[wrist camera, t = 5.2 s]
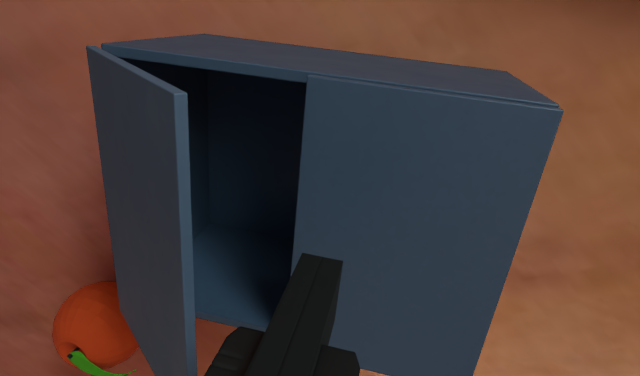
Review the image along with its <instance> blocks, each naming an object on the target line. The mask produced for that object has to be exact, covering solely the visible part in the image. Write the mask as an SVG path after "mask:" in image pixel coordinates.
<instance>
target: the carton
mask: <svg viewBox="0 0 640 376" xmlns="http://www.w3.org/2000/svg"><path fill="white" fill-rule="evenodd" d="M101 47H102V50H104V51H106V52H108V53H110V54H112V55H114V56H116V57H118V58H120V59H122V60H124V61H126V62H128V63H130V64H132V65H134V66H136V67H137V68H139V69H141V70H143V71H145V72H147V73H149V74H151V75H153V76H155V77H157V78H159V79H161V80H163V81H165V82H167V83H169V84H171V85H172V86H174V87H176V88H178V89H180V90H182V91H184V92H186V93H187V94H188V123H189V152H190V181H191V210H192V240H193V269H194V298H195V317H196V318H200V319H205V320H209V321H213V322H217V323H221V324H226V325H230V326H234V327H238V328H239V327H240V326H242V327H246V328H250V329H255V330H259V331H263V332H265V331H266V329H267V327H268V324H269V322H270V320H271V318H272V316H273V314H274V312H275V310H276V307H277V305H278V303H279V301H280V299H281V297H282V295H283V293H284V291H285V288H286V286H287V284H288V282H289V280H290V278H291V276H292V274H293V271H294V269H295V267H296V265H297V263H298V261H299V259H300V257H301V254H302V253H307V254H312V255H316V256H321V257H326V258H331V259H336V260H341V261H343V266H342V273H341V280H340V287H339V294H338V301H337V308H336V315H335V322H334V325H333V329H332V333H331V337H330V341H329V345H328V346H331V347H336V348H340V349H344V350H348V351H353V352H355V353H356V356H357V359H358V362H359V366H360V368H361V369H365V370H369V371H373V372H377V373H381V374H385V375H389V376H473V373H474V370H475V367H476V365H477V362H478V359H479V356H480V353H481V350H482V347H483V344H484V341H485V338H486V336H487V333H488V330H489V327H490V324H491V321H492V318H493V315H494V312H495V309H496V306H497V304H498V301H499V298H500V295H501V292H502V289H503V286H504V283H505V280H506V277H507V275H508V272H509V269H510V266H511V263H512V260H513V257H514V254H515V251H516V248H517V245H518V243H519V240H520V237H521V234H522V231H523V228H524V225H525V222H526V219H527V216H528V213H529V211H530V208H531V205H532V202H533V199H534V196H535V193H536V190H537V187H538V184H539V182H540V179H541V176H542V173H543V170H544V167H545V164H546V161H547V158H548V155H549V152H550V150H551V147H552V144H553V141H554V138H555V135H556V132H557V129H558V126H559V123H560V121H561V118H562V115H563V112H564V111H563V110H562V109H560V108H558V107H559V105H558V104H557V103H555V102H554V101H552V100H550V99H549V98H547V97H546V96H544V95H543V94H541V93H539V92H538V91H536V90H535V89H533V88H532V87H530V86H528V85H527V84H525V83H524V82H522V81H521V80H519V79H518V78H516V77H514V76H513V75H511V74H510V73H508V72H507V71H499V70H491V69H483V68H475V67H467V66H459V65H451V64H443V63H435V62H426V61H418V60H410V59H402V58H394V57H386V56H378V55H370V54H362V53H354V52H346V51H338V50H330V49H322V48H314V47H306V46H298V45H290V44H282V43H273V42H265V41H257V40H249V39H241V38H233V37H225V36H217V35H209V34H197V35H186V36H176V37H165V38H155V39H144V40H133V41H123V42H112V43H102V44H101Z"/></svg>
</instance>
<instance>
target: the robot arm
mask: <svg viewBox="0 0 640 376" xmlns="http://www.w3.org/2000/svg"><path fill="white" fill-rule="evenodd" d="M342 266H343V261H341V260H336V259H331V258H326V257H321V256H316V255H312V254H307V253H302V254H301V257H300V259H299V261H298V263H297V265H296V267H295V269H294V271H293V274H292V276H291V278H290V280H289V282H288V284H287V286H286V288H285V291H284V293H283V295H282V297H281V299H280V301H279V303H278V305H277V307H276V310H275V312H274V314H273V316H272V318H271V320H270V322H269V324H268V327H267V329H266V331H265V332H263V331H259V330H255V329H250V328H246V327H242V326H240V327H239V328H237V329H236V330H235V331H233V332H232V333H231V334H230V335H228V336H227V337H226V339H225V341H224V342H223V344H222V346H221V348H220V349H219V352H218V353H217V354H216V356H215V358H214V360H213V361H212V364H211V365H210V366H209V368H208V370H207V372H206V373H205V375H204V376H359V372H360V366H359V362H358V359H357V356H356V353H355V352H353V351H348V350H344V349H340V348H336V347H331V346H328V345H329V341H330V337H331V333H332V329H333V325H334V322H335V315H336V308H337V301H338V294H339V287H340V280H341V273H342Z"/></svg>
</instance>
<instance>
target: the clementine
mask: <svg viewBox="0 0 640 376" xmlns="http://www.w3.org/2000/svg"><path fill="white" fill-rule="evenodd" d="M52 337H53V342H54V345H55V347H56V350H57V352H58V354H59V355H60V356H61V358H62V359H63V360H64V361H65V362H67V363H68V364H70V365H72V366H74V367H76V368H79V369H81V370H82V371H84V372H86V373H89V374H91V375H94V376H126V375H127V374H129V373H131V372H133V371H131V372H129V373H127V374H114V373H110V372H107V371H104V370H102V369H107V368H111V367H113V366H115V365H117V364H119V363H121V362H123V361H125V360H126V359H128V358H129V357H130V356H131V355H132V354H133V353H134V352H135V351H136V350H137V348H138V347H139V344H138V343H137V341H136V339H135V337H134V335H133V333H132V331H131V330H130V328H129V326H128V324H127V322H126V320H125V318H124V317H123V315H122V313H121V311H120V306H119V298H118V290H117V283H116V282H98V283H94V284H91V285H87V286H84V287H83V288H81V289H79V290H78V291H76V292H75V293H73V294H72V295H71V296H69V297H68V299H67V300H66V301H65V302H64V303H63V304H62V306H61V307H60V309H59V311H58V313H57V315H56V317H55V319H54V325H53V333H52ZM136 370H137V369H136ZM134 371H135V370H134Z"/></svg>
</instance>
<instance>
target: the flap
mask: <svg viewBox="0 0 640 376" xmlns="http://www.w3.org/2000/svg"><path fill="white" fill-rule="evenodd" d="M86 49H87V57H88V65H89V73H90V80H91V88H92V96H93V104H94V112H95V119H96V127H97V135H98V143H99V150H100V158H101V166H102V174H103V182H104V189H105V197H106V205H107V213H108V220H109V228H110V236H111V244H112V252H113V259H114V267H115V275H116V283H117V290H118V298H119V306H120V311H121V313H122V315H123V317H124V318H125V320H126V322H127V324H128V326H129V328H130V330H131V331H132V333H133V335H134V337H135V339H136V341H137V343H138V344H139V346H140V348H141V350H142V352H143V354H144V355H145V357H146V359H147V361H148V363H149V365H150V367H151V368H152V370H153V372H154V374H155V376H197V357H196V328H195V298H194V269H193V240H192V210H191V181H190V152H189V123H188V94H187V93H186V92H184V91H182V90H180V89H178V88H176V87H174V86H172V85H171V84H169V83H167V82H165V81H163V80H161V79H159V78H157V77H155V76H153V75H151V74H149V73H147V72H145V71H143V70H141V69H139V68H137V67H136V66H134V65H132V64H130V63H128V62H126V61H124V60H122V59H120V58H118V57H116V56H114V55H112V54H110V53H108V52H106V51H104V50H102V49H100V48H99V47H97V46H86Z"/></svg>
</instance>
